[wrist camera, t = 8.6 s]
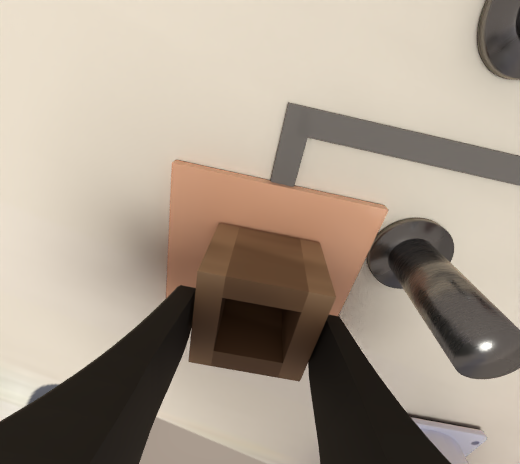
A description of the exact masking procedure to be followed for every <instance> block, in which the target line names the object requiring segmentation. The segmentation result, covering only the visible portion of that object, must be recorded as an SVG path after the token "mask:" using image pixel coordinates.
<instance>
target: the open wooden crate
mask: <svg viewBox="0 0 520 464" xmlns="http://www.w3.org/2000/svg"><path fill="white" fill-rule="evenodd" d="M335 299H336V295H335V291H334V288H333V285H332V281H331V278H330V275H329V271H328V268H327V264H326V261H325V258H324V254H323V251H322V248H321V244H320V243H319V242H313V241H308V240H303V239H298V238H293V237H288V236H283V235H278V234H273V233H268V232H263V231H258V230H253V229H248V228H243V227H237V226H232V225H227V224H222V223H219V224H218V226H217V229H216V231H215V233H214V235H213V237H212V240H211V242H210V244H209V246H208V249H207V251H206V253H205V255H204V258H203V260H202V262H201V264H200V266H199V269H198V271H197V281H196V291H195V301H194V311H193V321H192V331H191V341H190V352H189V362H192V363H198V364H203V365H209V366H215V367H221V368H226V369H232V370H238V371H243V372H249V373H255V374H261V375H266V376H272V377H278V378H284V379H289V380H295V381H300V380H301V377H302V375H303V373H304V370H305V368H306V366H307V363H308V361H309V359H310V357H311V354H312V352H313V350H314V347H315V345H316V343H317V340H318V338H319V336H320V334H321V331H322V329H323V327H324V324H325V322H326V320H327V317H328V315H329V313H330V310H331V308H332V306H333V304H334V301H335Z"/></svg>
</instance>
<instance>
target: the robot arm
mask: <svg viewBox="0 0 520 464" xmlns="http://www.w3.org/2000/svg"><path fill="white" fill-rule="evenodd" d="M195 291H196V288H193V287H188V286H183V285H180V286H178V287H177V288H176V289H175V290H174V291H173V292H172V293H171V294H170V295H169V296H168V297H167V298H166V299H165V300H164V301H163V302H162V303H161V304H160V305H159V306H158V307H157V308H156V309H155V310H154V311H153V312H152V313H151V314H150V315H149V316H148V317H146V318H145V319H144V320H143V321H142V322H141V323H140V324H139V325H138V326H137V327H135V328H134V329H133V330H132V331H131V332H129V333H128V334H127V335H126V336H125V337H123V338H122V339H121V340H120V341H119V342H117V343H116V344H115V345H114V346H113V347H111V348H110V349H109V350H107V351H106V352H105V353H104V354H102V355H101V356H100V357H98V358H97V359H96V360H94V361H93V362H91V363H90V364H89V365H87V366H86V367H85V368H83V369H82V370H80V371H79V372H78V373H76V374H75V375H73V376H72V377H70V378H69V379H67V380H66V381H64V382H63V383H61V384H60V385H58V386H57V387H55V388H54V389H52V390H51V391H49V392H48V393H46V394H45V395H43V396H42V397H40V398H38V399H37V400H35V401H34V402H32V403H30V404H29V405H27V406H25V407H24V408H22V409H20V410H19V411H17V412H15V413H14V414H12V415H10V416H9V417H7V418H5V419H3V420H2V421H0V464H139V462H140V459H141V456H142V453H143V450H144V447H145V444H146V441H147V439H148V436H149V433H150V430H151V428H152V425H153V423H154V420H155V418H156V415H157V413H158V410H159V408H160V406H161V404H162V401H163V399H164V397H165V394H166V392H167V390H168V388H169V385H170V383H171V381H172V378H173V376H174V374H175V372H176V369H177V367H178V365H179V362H180V360H181V358H182V355H183V353H184V350H185V347H186V344H187V341H188V338H189V335H190V331H191V328H192V321H193V311H194V301H195ZM308 365H309V380H310V388H311V395H312V402H313V409H314V416H315V423H316V430H317V437H318V445H319V454H320V464H469V463H468V461H467V459H466V456H468V455H469V454H470V453H471V452H472V451H474V450H475V449H476V448H477V447H479V446H480V445H481V444H482V443H484V442H485V441H486V440H487V437H486V435H485V433H484V432H483V431H481V430H478V429H472V428H467V427H461V426H456V425H451V424H445V423H440V422H434V421H429V420H423V419H418V418H412V417H410V416H409V415H408V414H407V412H406V411H405V410H404V409H403V407H402V406H401V405H400V404H399V402H398V401H397V400H396V398H395V397H394V396H393V394H392V393H391V392H390V390H389V389H388V388H387V386H386V385H385V384H384V382H383V381H382V380H381V378H380V377H379V376H378V374H377V373H376V371H375V370H374V368H373V367H372V366H371V364H370V363H369V361H368V360H367V358H366V357H365V355H364V354H363V352H362V351H361V349H360V348H359V346H358V345H357V343H356V342H355V340H354V339H353V337H352V336H351V334H350V332H349V331H348V329H347V328H346V326H345V325H344V323H343V322H342V320H341V319H340V317H339V316H334V315H328V317H327V320H326V322H325V324H324V327H323V329H322V331H321V334H320V336H319V338H318V340H317V343H316V345H315V347H314V350H313V352H312V354H311V357H310V359H309V361H308Z"/></svg>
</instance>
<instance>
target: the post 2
mask: <svg viewBox="0 0 520 464" xmlns="http://www.w3.org/2000/svg"><path fill="white" fill-rule="evenodd" d="M477 39H478V49H479V53H480V56H481V59H482V60H483V62H484V64H485V65H486V67H487V68H488V69H489V70H490V71H491V72H493V73H494V74H496V75H498V76H500V77H503V78H506V79H520V0H486V2H485V4H484V7H483V10H482V13H481V16H480V20H479V25H478V34H477Z"/></svg>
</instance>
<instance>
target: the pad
mask: <svg viewBox="0 0 520 464" xmlns="http://www.w3.org/2000/svg"><path fill="white" fill-rule="evenodd" d="M270 181H271V180H266V179H261V178H257V177H252V176H248V175H243V174H239V173H234V172H229V171H225V170H220V169H216V168H211V167H206V166H202V165H197V164H193V163H188V162H184V161H179V160H175V161H174V162H172V173H171V196H170V218H169V241H168V264H167V286H166V298H167V297H168V296H169V295H170V294H171V293H172V292H173V291H174V290H175V289H176V288H177V287H178V286H180V285H183V286H188V287H193V288H196V281H197V271H198V269H199V266H200V264H201V262H202V260H203V258H204V255H205V253H206V251H207V249H208V246H209V244H210V242H211V240H212V237H213V235H214V233H215V231H216V229H217V226H218V224H219V223H222V224H227V225H232V226H237V227H243V228H248V229H253V230H258V231H263V232H268V233H273V234H278V235H283V236H288V237H293V238H298V239H303V240H308V241H313V242H319V243H320V244H321V248H322V251H323V254H324V258H325V261H326V264H327V268H328V271H329V275H330V278H331V281H332V285H333V288H334V291H335V295H336V299H335V301H334V304H333V306H332V308H331V310H330V313H329V315H334V316H338V315H339V313H340V311H341V309H342V307H343V305H344V302H345V300H346V298H347V296H348V294H349V292H350V290H351V288H352V286H353V284H354V282H355V279H356V277H357V275H358V273H359V271H360V269H361V267H362V265H363V263H364V261H365V258H366V256H367V254H368V252H369V250H370V248H371V246H372V244H373V242H374V240H375V238H376V235H377V233H378V231H379V229H380V227H381V225H382V223H383V221H384V219H385V217H386V214H387V212H388V209H387V208H386V207H385V206H384V205H381V204H376V203H371V202H367V201H362V200H358V199H353V198H348V197H344V196H339V195H335V194H330V193H326V192H321V191H316V190H312V189H307V188H303V187H298V186H294V187H292V186H287V185H282V184H278V183H273V182H270Z"/></svg>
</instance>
